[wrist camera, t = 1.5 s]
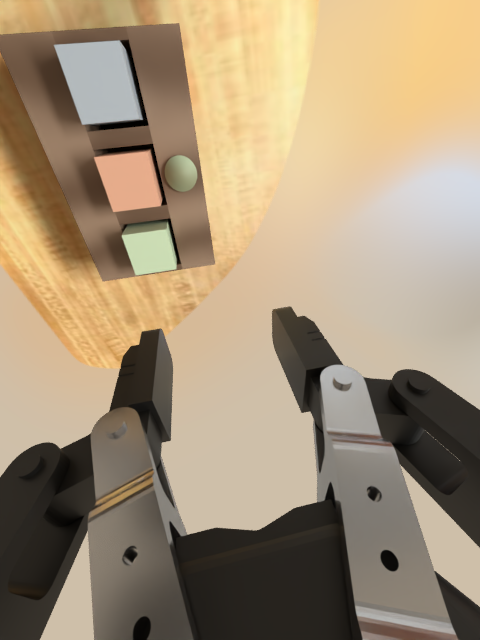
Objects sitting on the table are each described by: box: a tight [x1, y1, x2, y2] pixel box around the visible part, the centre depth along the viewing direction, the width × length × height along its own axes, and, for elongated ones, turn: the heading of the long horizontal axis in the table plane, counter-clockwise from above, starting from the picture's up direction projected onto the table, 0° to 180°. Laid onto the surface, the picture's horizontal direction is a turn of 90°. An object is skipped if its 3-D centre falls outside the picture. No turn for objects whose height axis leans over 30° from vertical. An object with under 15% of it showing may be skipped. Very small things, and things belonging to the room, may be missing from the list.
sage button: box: [122, 218, 177, 275], centre depth 27 cm, size 4×4×4 cm
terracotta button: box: [94, 148, 163, 212], centre depth 23 cm, size 4×4×4 cm
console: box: [0, 23, 215, 281], centre depth 25 cm, size 18×12×5 cm, turn 5°
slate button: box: [54, 40, 146, 125], centre depth 20 cm, size 4×4×4 cm
